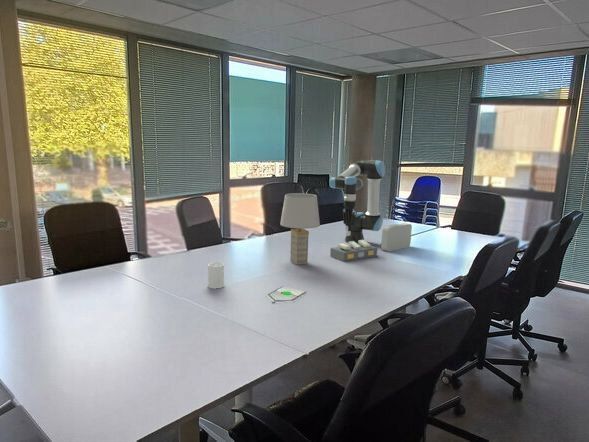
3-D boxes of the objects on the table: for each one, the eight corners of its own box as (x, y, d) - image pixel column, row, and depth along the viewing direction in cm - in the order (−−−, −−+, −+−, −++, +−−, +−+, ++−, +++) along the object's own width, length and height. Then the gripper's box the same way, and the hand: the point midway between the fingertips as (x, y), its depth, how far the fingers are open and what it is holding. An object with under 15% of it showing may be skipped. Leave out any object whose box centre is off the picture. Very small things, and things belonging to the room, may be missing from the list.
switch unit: (330, 256, 282) (330, 246, 281) (363, 251, 298) (363, 242, 297) (343, 261, 270) (344, 251, 269) (377, 256, 286) (377, 246, 285)
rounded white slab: (402, 244, 321) (403, 222, 318) (410, 246, 315) (412, 223, 312) (378, 249, 303) (379, 226, 300) (386, 252, 298) (388, 227, 294)
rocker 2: (348, 243, 284) (348, 241, 284) (352, 243, 287) (353, 240, 286) (355, 249, 279) (355, 246, 278) (360, 248, 281) (360, 246, 280)
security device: (256, 301, 200) (256, 297, 200) (280, 288, 219) (280, 284, 219) (286, 309, 192) (286, 305, 191) (308, 295, 211) (308, 291, 210)
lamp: (290, 270, 249) (292, 198, 241) (273, 259, 271) (274, 193, 263) (325, 265, 260) (328, 197, 252) (306, 255, 282) (308, 192, 274)
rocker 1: (337, 246, 280) (338, 243, 279) (342, 245, 282) (343, 243, 282) (345, 249, 273) (345, 247, 273) (350, 248, 276) (350, 246, 275)
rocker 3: (358, 242, 289) (358, 240, 289) (362, 241, 292) (363, 239, 291) (365, 247, 283) (365, 245, 283) (370, 246, 286) (370, 244, 285)
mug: (218, 280, 226) (218, 259, 224) (231, 283, 223) (231, 262, 220) (204, 287, 216) (204, 265, 214) (217, 290, 212) (217, 267, 210)
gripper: (339, 199, 273) (337, 234, 278) (351, 201, 262) (350, 238, 267) (347, 198, 277) (346, 232, 282) (360, 201, 266) (358, 236, 271)
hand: (348, 235), depth 274 cm, fingers closed
